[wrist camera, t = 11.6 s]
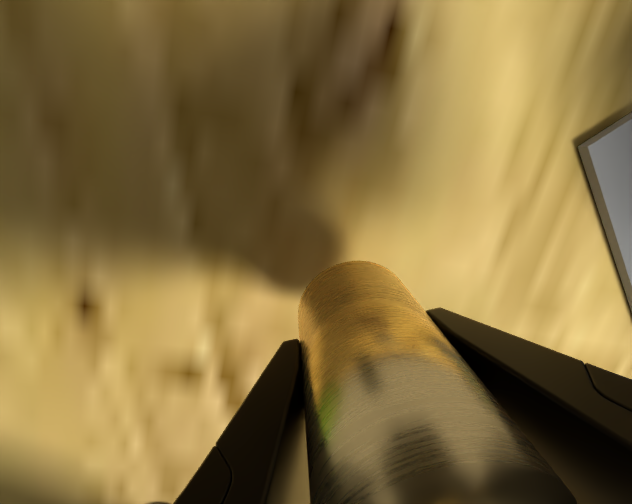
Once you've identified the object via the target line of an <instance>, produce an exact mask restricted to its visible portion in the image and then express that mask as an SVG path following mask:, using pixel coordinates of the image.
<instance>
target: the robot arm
mask: <svg viewBox="0 0 632 504" xmlns="http://www.w3.org/2000/svg"><path fill="white" fill-rule="evenodd" d="M426 313H427V314H428V316H429V317H430V318H431V319H432V320H433V322H434V323H435V324H436V325H437V327H438V328H439V329H440V330H441V332H442V333H443V334H444V335H445V337H446V338H447V339H448V340H449V341H450V343H451V344H452V345H453V346H454V348H455V349H456V350H457V351H458V353H459V354H460V355H461V356H462V358H463V359H464V360H465V361H466V363H467V364H468V365H469V366H470V367H471V369H472V370H473V371H474V372H475V374H476V375H477V376H478V377H479V379H480V380H481V381H482V382H483V384H484V385H485V386H486V387H487V388H488V390H489V391H490V392H491V393H492V395H493V396H494V397H495V398H496V400H497V401H498V402H499V403H500V405H501V406H502V407H503V408H504V409H505V411H506V412H507V413H508V414H509V416H510V417H511V418H512V419H513V421H514V422H515V423H516V424H517V426H518V427H519V428H520V429H521V430H522V432H523V433H524V434H525V435H526V437H527V438H528V439H529V440H530V442H531V443H532V444H533V445H534V447H535V448H536V449H537V450H538V451H539V453H540V454H541V455H542V456H543V458H544V459H545V460H546V461H547V463H548V464H549V465H550V466H551V468H552V469H553V470H554V471H555V472H556V474H557V475H558V476H559V477H560V479H561V480H562V481H563V482H564V484H565V485H566V486H567V487H568V489H569V490H570V491H571V493H572V494H573V496H574V497H575V498H576V501H577V503H578V504H632V380H631V379H629V378H626V377H623V376H620V375H618V374H615V373H612V372H609V371H607V370H604V369H602V368H599V367H596V366H594V365H591V364H588V363H585V364H584V363H583V362H582V361H580V360H578V359H575V358H572V357H570V356H567V355H564V354H562V353H559V352H556V351H554V350H551V349H548V348H546V347H543V346H541V345H538V344H535V343H533V342H530V341H527V340H525V339H522V338H519V337H517V336H514V335H512V334H509V333H506V332H504V331H501V330H498V329H496V328H493V327H490V326H488V325H485V324H482V323H480V322H477V321H475V320H472V319H469V318H467V317H464V316H461V315H459V314H456V313H453V312H451V311H448V310H445V309H443V308H435V309H431V310H427V311H426ZM173 504H310V490H309V475H308V459H307V444H306V429H305V413H304V398H303V381H302V365H301V350H300V342H299V340H298V339H293V340H288V341H284V342H283V343H282V344H281V346H280V347H279V349H278V350H277V352H276V353H275V355H274V356H273V358H272V359H271V361H270V362H269V364H268V365H267V367H266V368H265V370H264V371H263V373H262V374H261V376H260V377H259V379H258V380H257V382H256V383H255V385H254V386H253V388H252V389H251V391H250V392H249V394H248V395H247V397H246V399H245V400H244V402H243V403H242V405H241V406H240V408H239V409H238V411H237V412H236V414H235V415H234V417H233V418H232V420H231V421H230V423H229V424H228V426H227V427H226V429H225V430H224V432H223V433H222V435H221V436H220V438H219V439H218V441H217V442H216V446H214V447H213V448H212V449H211V451H210V452H209V454H208V455H207V457H206V458H205V460H204V461H203V463H202V464H201V466H200V467H199V469H198V470H197V472H196V473H195V474H194V476H193V477H192V479H191V480H190V482H189V483H188V484H187V486H186V487H185V489H184V490H183V491H182V493H181V494H180V495H179V496H178V498H177V499H176V500H175V502H174V503H173Z"/></svg>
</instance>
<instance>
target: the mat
mask: <svg viewBox="0 0 632 504" xmlns="http://www.w3.org/2000/svg"><path fill="white" fill-rule="evenodd" d="M578 150H579V153H580V156H581V159H582V162H583V165H584V168H585V171H586V174H587V177H588V180H589V183H590V186H591V189H592V193H593V196H594V199H595V202H596V205H597V208H598V211H599V214H600V217H601V220H602V223H603V226H604V229H605V232H606V235H607V238H608V241H609V244H610V247H611V250H612V254H613V257H614V260H615V263H616V266H617V269H618V272H619V275H620V278H621V281H622V284H623V287H624V290H625V293H626V296H627V299H628V302H629V305H630V308H631V311H632V112H631V113H629V114H628V115H626V116H625V117H623V118H621V119H620V120H618V121H617V122H615V123H614V124H612V125H610V126H609V127H607V128H606V129H604V130H603V131H601V132H600V133H598V134H596V135H595V136H593V137H592V138H590V139H589V140H587V141H585V142H584V143H582V144H581V145H579V146H578Z"/></svg>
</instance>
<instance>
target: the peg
mask: <svg viewBox="0 0 632 504" xmlns="http://www.w3.org/2000/svg"><path fill="white" fill-rule="evenodd" d="M298 322H299V337H300V350H301V365H302V381H303V398H304V413H305V429H306V444H307V459H308V475H309V490H310V504H578V503H577V501H576V498H575V497H574V496H573V494H572V493H571V491H570V490H569V489H568V487H567V486H566V485H565V484H564V482H563V481H562V480H561V479H560V477H559V476H558V475H557V474H556V472H555V471H554V470H553V469H552V468H551V466H550V465H549V464H548V463H547V461H546V460H545V459H544V458H543V456H542V455H541V454H540V453H539V451H538V450H537V449H536V448H535V447H534V445H533V444H532V443H531V442H530V440H529V439H528V438H527V437H526V435H525V434H524V433H523V432H522V430H521V429H520V428H519V427H518V426H517V424H516V423H515V422H514V421H513V419H512V418H511V417H510V416H509V414H508V413H507V412H506V411H505V409H504V408H503V407H502V406H501V405H500V403H499V402H498V401H497V400H496V398H495V397H494V396H493V395H492V393H491V392H490V391H489V390H488V388H487V387H486V386H485V385H484V384H483V382H482V381H481V380H480V379H479V377H478V376H477V375H476V374H475V372H474V371H473V370H472V369H471V367H470V366H469V365H468V364H467V363H466V361H465V360H464V359H463V358H462V356H461V355H460V354H459V353H458V351H457V350H456V349H455V348H454V346H453V345H452V344H451V343H450V341H449V340H448V339H447V338H446V337H445V335H444V334H443V333H442V332H441V330H440V329H439V328H438V327H437V325H436V324H435V323H434V322H433V320H432V319H431V318H430V317H429V316H428V314H427V313H426V312H425V311H424V309H423V308H422V307H421V306H420V304H419V303H418V302H417V301H416V299H415V298H414V297H413V296H412V295H411V293H410V292H409V291H408V290H407V288H406V287H405V286H404V285H403V283H402V282H401V281H400V280H399V278H398V277H397V276H396V275H395V274H394V273H392V272H391V271H390V270H388V269H387V268H385V267H383V266H381V265H378V264H376V263H372V262H367V261H350V262H344V263H341V264H337V265H335V266H332V267H330V268H328V269H326V270H325V271H323V272H322V273H320V274H319V275H318V276H317V277H316V278H314V279H313V280H312V281H311V283H310V284H309V285H308V286H307V288H306V290H305V291H304V293H303V295H302V298H301V300H300V304H299V310H298Z"/></svg>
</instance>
